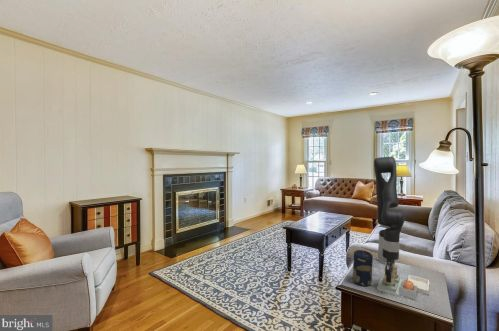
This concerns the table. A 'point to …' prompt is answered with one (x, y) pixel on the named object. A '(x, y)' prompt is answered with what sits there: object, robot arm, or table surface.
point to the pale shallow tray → (420, 284)
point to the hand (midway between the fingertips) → (389, 280)
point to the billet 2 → (395, 271)
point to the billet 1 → (391, 278)
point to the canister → (362, 267)
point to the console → (408, 292)
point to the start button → (408, 285)
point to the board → (390, 286)
